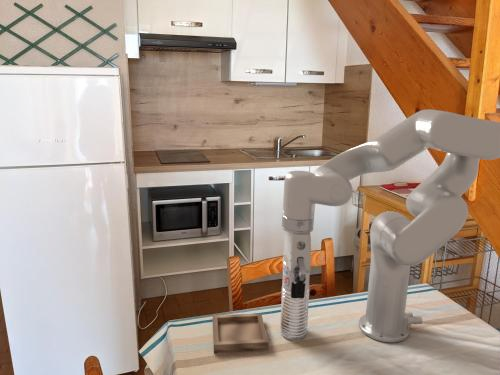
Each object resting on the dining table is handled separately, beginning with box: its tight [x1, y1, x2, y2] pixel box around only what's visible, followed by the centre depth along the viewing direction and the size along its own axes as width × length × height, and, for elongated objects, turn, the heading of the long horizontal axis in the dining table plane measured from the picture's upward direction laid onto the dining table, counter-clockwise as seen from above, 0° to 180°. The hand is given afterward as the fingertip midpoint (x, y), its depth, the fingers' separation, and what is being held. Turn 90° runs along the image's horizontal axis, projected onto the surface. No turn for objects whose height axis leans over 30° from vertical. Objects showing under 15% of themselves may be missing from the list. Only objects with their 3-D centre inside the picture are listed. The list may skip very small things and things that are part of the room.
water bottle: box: [279, 244, 312, 341], centre depth 107 cm, size 7×7×25 cm
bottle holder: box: [212, 312, 270, 354], centre depth 108 cm, size 13×13×2 cm
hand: (293, 288), depth 107 cm, fingers open, 9 cm apart
